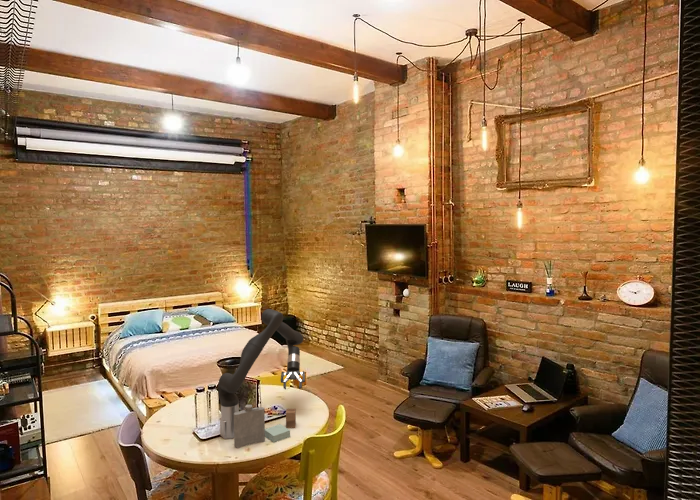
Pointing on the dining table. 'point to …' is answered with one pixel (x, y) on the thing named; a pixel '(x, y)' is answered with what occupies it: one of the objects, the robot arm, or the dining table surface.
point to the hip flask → (249, 426)
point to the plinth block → (277, 433)
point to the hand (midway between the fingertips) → (292, 388)
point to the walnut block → (290, 418)
